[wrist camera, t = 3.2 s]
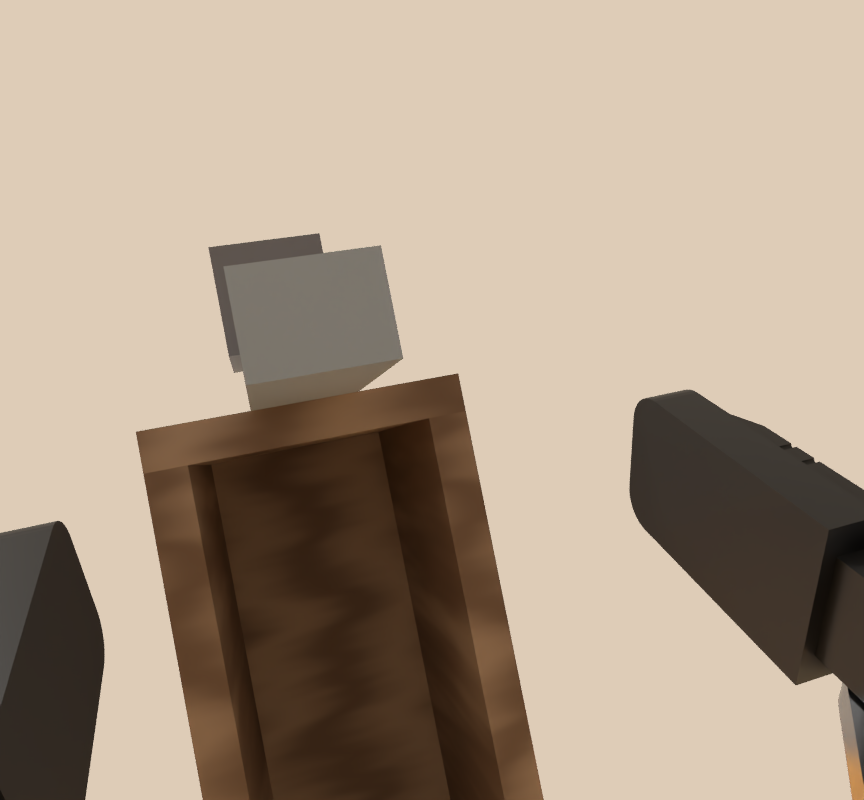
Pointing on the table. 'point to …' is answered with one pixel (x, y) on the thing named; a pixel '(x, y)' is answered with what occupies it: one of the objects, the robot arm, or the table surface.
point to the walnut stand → (339, 601)
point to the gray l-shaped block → (304, 318)
